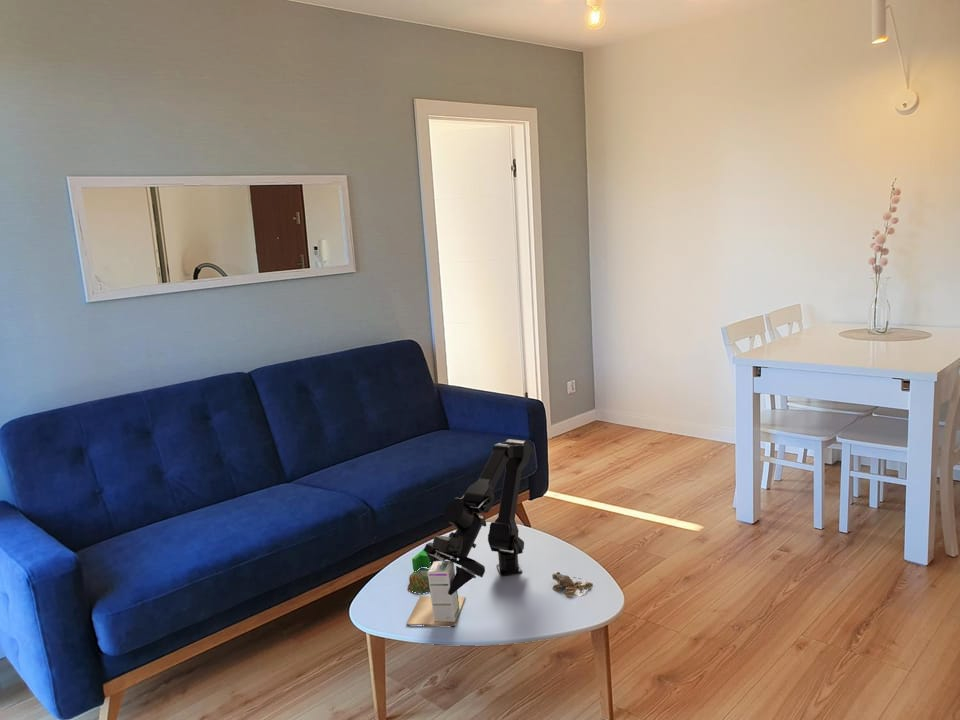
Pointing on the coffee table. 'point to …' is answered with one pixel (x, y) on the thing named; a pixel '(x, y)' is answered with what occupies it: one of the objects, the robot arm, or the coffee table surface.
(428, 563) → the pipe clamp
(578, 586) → the frog figurine
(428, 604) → the board
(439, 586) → the syrup box
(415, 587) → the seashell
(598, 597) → the coffee table surface
